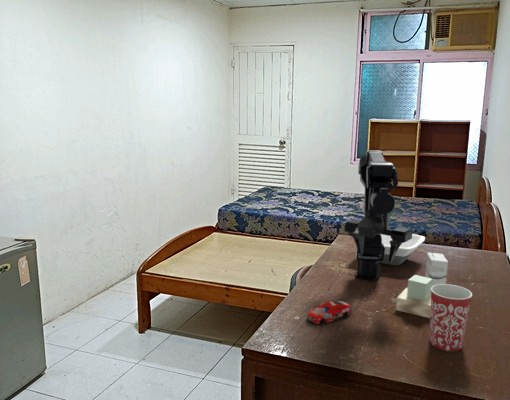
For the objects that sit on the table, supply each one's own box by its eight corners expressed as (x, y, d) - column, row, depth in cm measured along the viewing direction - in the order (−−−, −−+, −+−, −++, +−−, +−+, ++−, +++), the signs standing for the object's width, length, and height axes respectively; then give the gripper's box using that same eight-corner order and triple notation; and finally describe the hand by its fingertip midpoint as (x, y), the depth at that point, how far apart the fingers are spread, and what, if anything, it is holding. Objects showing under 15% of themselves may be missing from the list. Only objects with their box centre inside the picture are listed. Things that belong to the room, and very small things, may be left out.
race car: (315, 328, 118) (316, 313, 117) (303, 319, 123) (303, 305, 122) (354, 316, 124) (355, 302, 124) (341, 309, 129) (341, 295, 128)
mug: (469, 356, 104) (475, 300, 102) (426, 350, 107) (431, 295, 104) (462, 331, 116) (468, 281, 113) (424, 326, 119) (428, 276, 116)
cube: (407, 296, 128) (408, 279, 127) (413, 291, 132) (414, 274, 131) (425, 301, 125) (426, 283, 124) (431, 295, 129) (432, 278, 128)
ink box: (445, 299, 136) (449, 261, 133) (428, 298, 136) (431, 260, 134) (440, 289, 144) (443, 252, 142) (423, 287, 145) (426, 251, 143)
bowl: (348, 262, 169) (350, 239, 167) (371, 247, 187) (372, 227, 186) (409, 274, 156) (411, 250, 155) (427, 257, 175) (429, 236, 173)
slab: (396, 311, 128) (397, 297, 128) (405, 300, 136) (406, 287, 135) (429, 319, 124) (430, 305, 123) (437, 307, 131) (438, 294, 130)
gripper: (335, 206, 131) (333, 258, 134) (398, 216, 120) (394, 273, 123) (354, 200, 140) (351, 250, 143) (414, 209, 128) (410, 263, 131)
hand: (375, 258), depth 134 cm, fingers open, 9 cm apart
